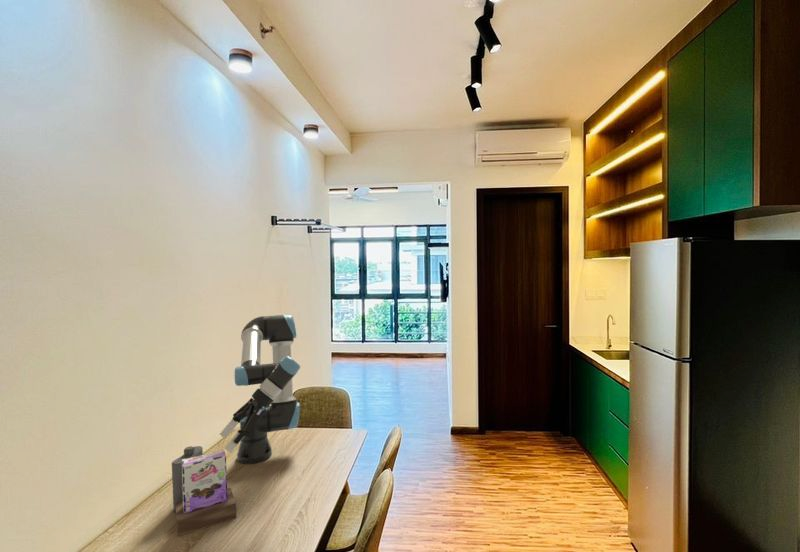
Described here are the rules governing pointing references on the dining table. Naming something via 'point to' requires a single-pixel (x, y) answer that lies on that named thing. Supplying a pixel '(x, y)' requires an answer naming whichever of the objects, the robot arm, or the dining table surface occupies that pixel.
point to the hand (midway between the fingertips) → (224, 443)
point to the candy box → (204, 481)
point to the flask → (177, 472)
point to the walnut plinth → (205, 515)
